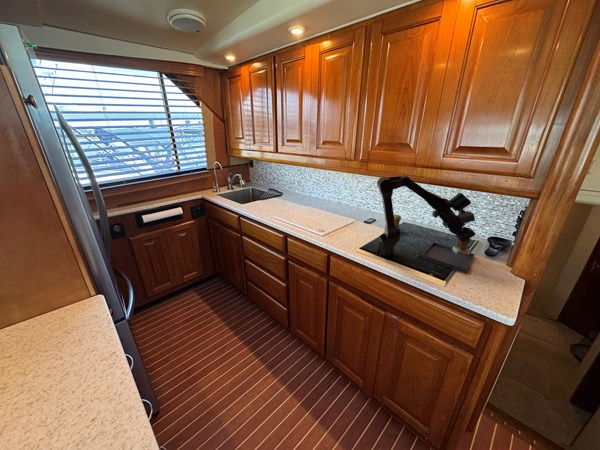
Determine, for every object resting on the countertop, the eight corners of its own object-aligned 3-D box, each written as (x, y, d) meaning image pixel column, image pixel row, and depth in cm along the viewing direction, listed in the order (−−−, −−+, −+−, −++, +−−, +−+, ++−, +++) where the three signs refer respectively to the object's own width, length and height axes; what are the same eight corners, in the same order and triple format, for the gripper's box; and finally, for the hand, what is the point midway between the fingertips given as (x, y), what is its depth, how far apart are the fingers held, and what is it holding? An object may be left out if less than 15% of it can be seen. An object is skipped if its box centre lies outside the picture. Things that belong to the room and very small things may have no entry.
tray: (420, 258, 117) (421, 254, 117) (432, 244, 130) (433, 241, 129) (465, 273, 105) (467, 269, 105) (473, 257, 118) (475, 254, 117)
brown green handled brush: (456, 254, 113) (462, 235, 109) (451, 250, 117) (457, 231, 113) (469, 254, 113) (475, 235, 109) (464, 250, 117) (470, 232, 113)
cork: (390, 229, 149) (393, 212, 145) (400, 231, 146) (403, 215, 141) (387, 232, 145) (389, 215, 140) (397, 235, 141) (400, 218, 137)
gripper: (477, 213, 98) (497, 239, 101) (455, 200, 115) (472, 222, 118) (452, 229, 102) (471, 253, 105) (434, 214, 119) (451, 235, 122)
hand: (467, 240), depth 112 cm, fingers closed on brown green handled brush, 3 cm apart
